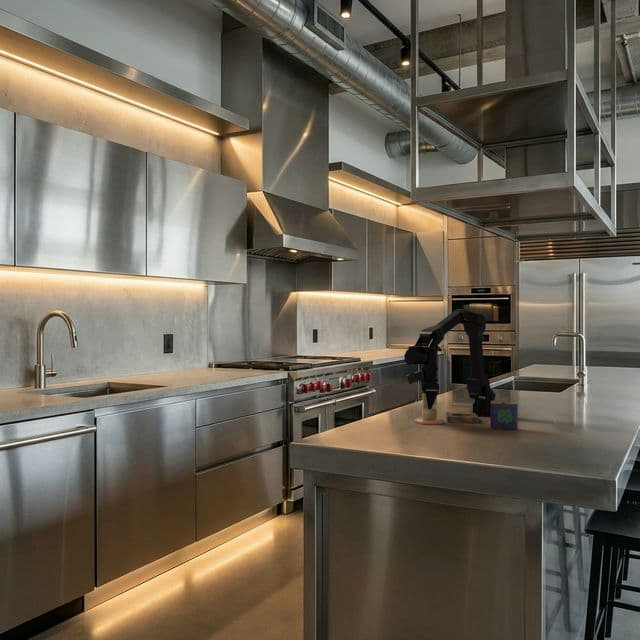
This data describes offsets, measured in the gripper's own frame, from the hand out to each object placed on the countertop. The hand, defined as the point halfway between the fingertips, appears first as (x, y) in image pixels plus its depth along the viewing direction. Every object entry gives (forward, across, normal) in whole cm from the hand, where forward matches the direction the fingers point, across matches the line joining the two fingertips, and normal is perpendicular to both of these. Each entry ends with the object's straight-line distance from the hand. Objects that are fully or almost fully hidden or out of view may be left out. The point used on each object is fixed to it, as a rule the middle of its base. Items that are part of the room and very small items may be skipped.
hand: (429, 407), depth 225 cm
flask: (+6, +9, +25) cm, 27 cm away
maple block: (+4, 0, 0) cm, 4 cm away
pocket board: (+6, -7, +12) cm, 15 cm away
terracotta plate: (+6, 0, 0) cm, 6 cm away
